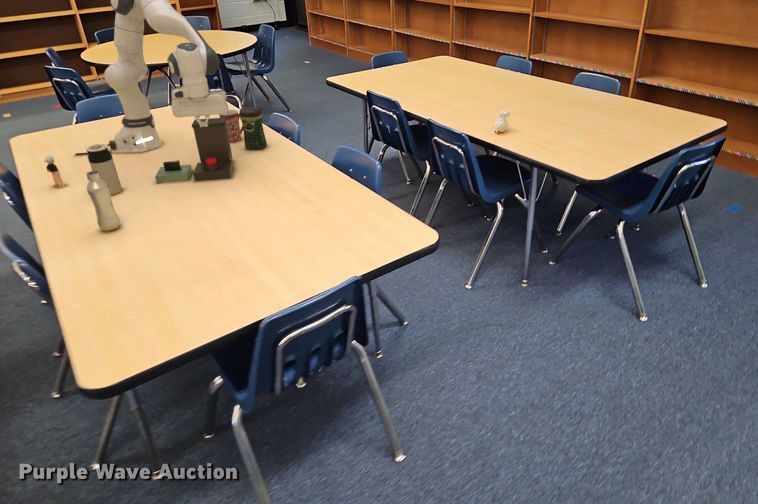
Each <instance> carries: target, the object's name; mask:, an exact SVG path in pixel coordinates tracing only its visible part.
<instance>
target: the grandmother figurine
mask: <svg viewBox="0 0 758 504" xmlns="http://www.w3.org/2000/svg"><path fill="white" fill-rule="evenodd" d="M43 163H47V165H46V167H45V168H46V171H47V173H51V177H52V179H53V183H54V187H55V188H56V187H57V188H59V189H60V188H63V187H66V184H65V183H64V180H63V178H62V176H61V173H60V171H59V168H58V167H57V165H56V164H55V159H54V157H53V155H51V154H47V155H46V156H45V157H44V160H43Z"/></svg>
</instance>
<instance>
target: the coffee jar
mask: <svg viewBox="0 0 758 504" xmlns="http://www.w3.org/2000/svg"><path fill="white" fill-rule="evenodd" d="M239 113H240V118H239V120H240V121H241V124H242V126H243V131H242V132H243V141H244V148H245V149H246V150H254V151H255V150H263V149H265V148H266V147H267V145H268V144H267V143H268V141H267V138H266V134H265V129H264V126H263V121H262V120H263V111H262V109H261V107H260V106H243V107H241V108H240V109H239Z"/></svg>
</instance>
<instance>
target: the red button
mask: <svg viewBox="0 0 758 504" xmlns="http://www.w3.org/2000/svg"><path fill="white" fill-rule="evenodd" d="M206 164H207V166H213V165H216V164H217V161H216V158H208V159H206Z"/></svg>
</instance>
